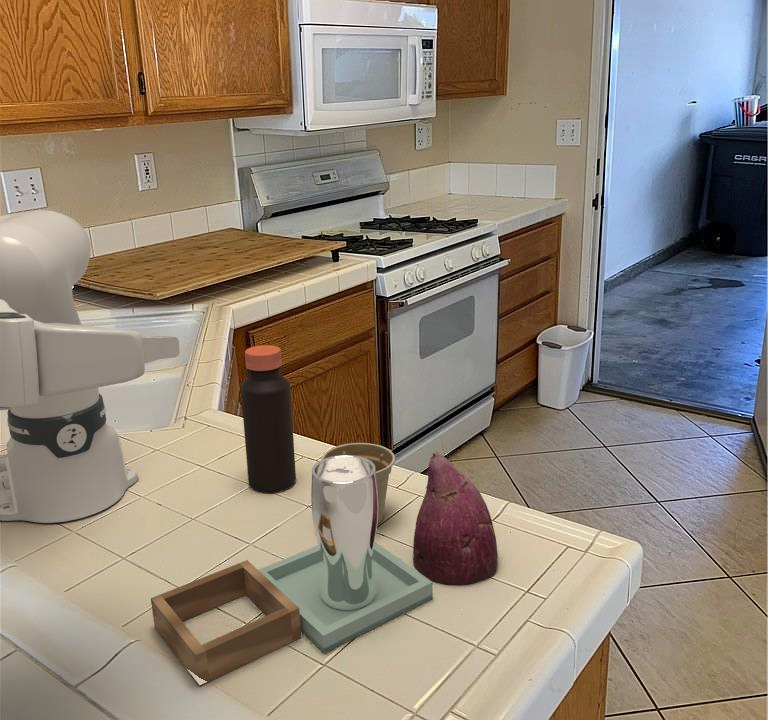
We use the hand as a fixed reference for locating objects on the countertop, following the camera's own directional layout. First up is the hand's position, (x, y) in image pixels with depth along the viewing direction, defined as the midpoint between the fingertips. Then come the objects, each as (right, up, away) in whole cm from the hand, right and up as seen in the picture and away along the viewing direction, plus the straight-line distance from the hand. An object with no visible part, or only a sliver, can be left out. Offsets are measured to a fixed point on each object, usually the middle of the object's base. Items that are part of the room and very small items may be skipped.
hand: (153, 343), depth 68 cm
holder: (+5, -29, +9) cm, 31 cm away
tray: (+16, -27, +15) cm, 35 cm away
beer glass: (+17, -27, +14) cm, 35 cm away
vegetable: (+29, -25, +21) cm, 44 cm away
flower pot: (+18, -22, +31) cm, 42 cm away
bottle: (+5, -19, +40) cm, 45 cm away
